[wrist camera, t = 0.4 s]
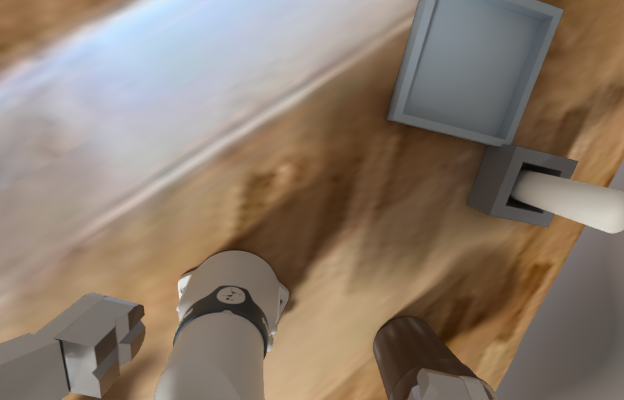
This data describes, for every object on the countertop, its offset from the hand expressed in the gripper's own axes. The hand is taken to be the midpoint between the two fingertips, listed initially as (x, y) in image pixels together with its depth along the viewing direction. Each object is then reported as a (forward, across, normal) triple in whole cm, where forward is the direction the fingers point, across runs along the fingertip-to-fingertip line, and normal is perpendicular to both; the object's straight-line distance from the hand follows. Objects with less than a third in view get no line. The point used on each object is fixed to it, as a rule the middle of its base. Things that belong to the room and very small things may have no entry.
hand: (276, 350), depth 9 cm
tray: (+46, +17, +13) cm, 51 cm away
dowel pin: (+46, +30, -3) cm, 56 cm away
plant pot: (+41, +21, -37) cm, 59 cm away
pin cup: (+46, +30, -3) cm, 56 cm away
